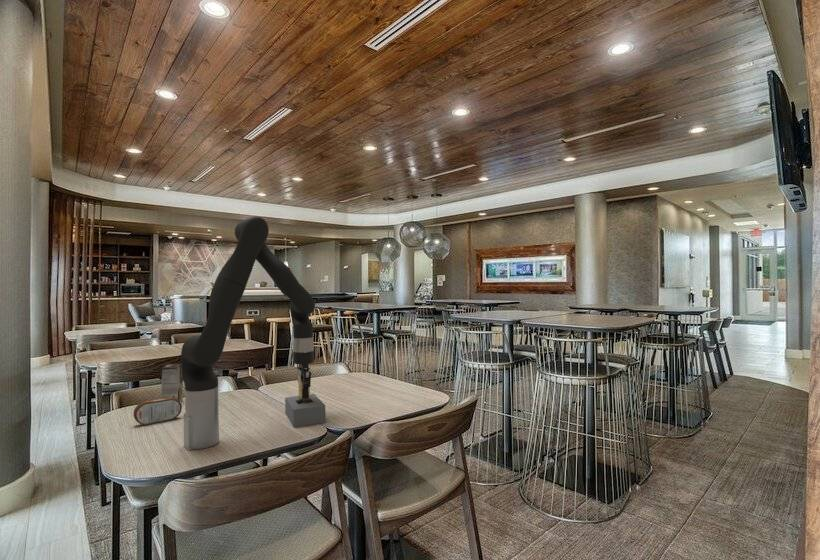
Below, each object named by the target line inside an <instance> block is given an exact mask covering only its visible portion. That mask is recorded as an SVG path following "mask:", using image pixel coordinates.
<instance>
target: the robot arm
mask: <svg viewBox="0 0 820 560" xmlns="http://www.w3.org/2000/svg"><path fill="white" fill-rule="evenodd" d="M269 232H270V229H269V225H268V223H267V222H266V220H265V219H264V218H262V217H261V216H255V215H254V216H249V217H247V218H245V219H243V220H241V221H239V222H238V223H237V224H236V226H235V227H234V236H235V238H236V240H237V244H236V246H235V249H234V251H233V253H231V255H230V257H229V258H228V260H227V261H226V262H225V264H224V265H223V267H222V268H221V270H220V271H219V273H218V275H216V276H217V277H216V279H215V281H214V283H213V286H212V288H211V291H210V294H209V304H208V305H209V306H208V317H207V320H206V323H205V325H204V327H203V330H202V332H201V334H200V335H193V336H190V337H188V338H187V339H186V340H185V341H184V343H182V347H181V353H180V354H181V355H180V359H181V360H180V362H181V363H180V364H181V365H182V378H183V383H184V384H183V385H184V395H185V396H184V400H185V401H184V402H185V403H184V404H185V405H184V406H185V407H184V408H185V411H184V413H183V446H184V447H185V448H186V449H187V450H188V451H191V450H201V449H207V448H211V447H213V446H215V445H217V444H218V443H220V424H219V423H220V420H219V419H220V418H219V414H220V412H219V410H220V409H219V407H220V405H219V377H218V375H217V374H216V373H215V371H214V369H213V366H214V365H215V364H216V363H217V362H218V361H219V360H220V359H221V356H222V354H223V351H224V347H225V344H226V341H227V339H228V338H227V337H228V334H229V330H230V328H231V324H232V322H233V319H234V317H235V314H236V312H237V309H238V307H239V304H240V302H241V299H242V298H243V295H244V293H245V290H246V288H247V285H248V281H249V279H250V277H251V273H252V271H253V268H254V264H255V263H256V261H257V262H258V263H259V265H260V266H261V267H262V268H263V269H264V271H265V272H266V273H267V274H268V276H269V278H271V280H272V281H273V283H274V284H275V286H276V287H277V288H278V290H280V292H281V294H282V295H284V296H286V297H287V298H288V299H289V300H290V305H289V307H290V308H289V311H290V316H291V322H292V327H293V328H292V332H293V333H292V334H293V339H292V340H293V341H292V363H293V364H294V365H298V366H297V367H296V369H297V377H298V376H299V375H300V382H302V398H303V399H306V398H309V387H310V388H311V382H312V380H311V379H312V372H311V368H310V366H309V364H312V363H314V362H315V343H314V327H313V323H312V322H311V321H310V317H309V316H310V314H311V315H312V313H313V312H314V310H316V309H315V308H316V302H315V299H314V298H313V296H312V295H311V293H309V291H307V290H306V288H305V287H303V286H302V284H301V283H300V282H299V281H298V279H297V277H296V276H295V275H294V273H293V272H292V270H291V269H290V268H289V267H288V266H287V264H286V263H285V262H283V260H281V259H280V258H279V257H277V256H276V255H275V254H274V253H273V251H271V249H270V248H269V247H268V245H267V244H266V241H267V239H268V237H269ZM302 378H303V379H302ZM305 382H307V384H305Z"/></svg>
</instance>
